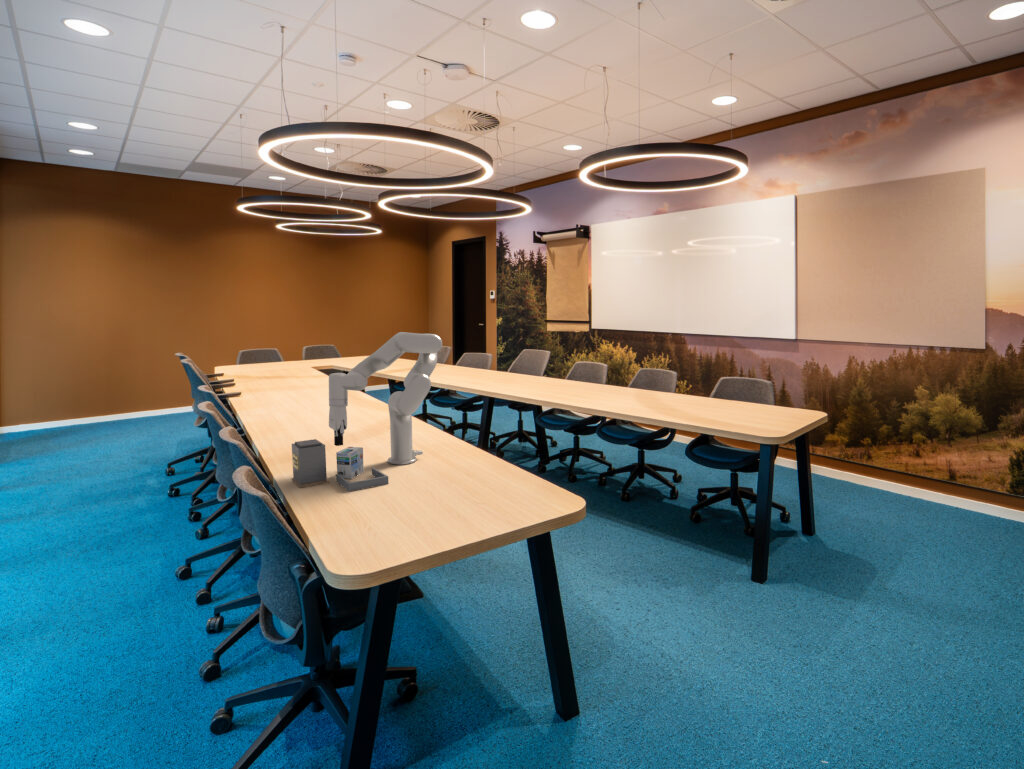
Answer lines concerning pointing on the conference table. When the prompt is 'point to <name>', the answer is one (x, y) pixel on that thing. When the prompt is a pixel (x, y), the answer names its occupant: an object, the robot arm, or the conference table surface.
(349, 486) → the bay
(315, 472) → the block
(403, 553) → the conference table surface
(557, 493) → the conference table surface
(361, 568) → the conference table surface
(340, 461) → the light bulb box
